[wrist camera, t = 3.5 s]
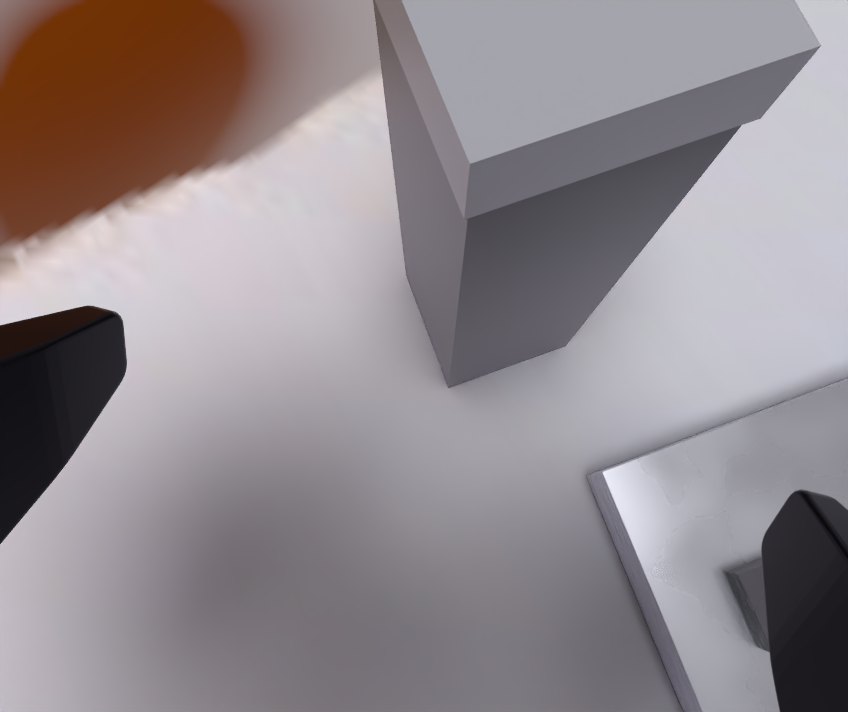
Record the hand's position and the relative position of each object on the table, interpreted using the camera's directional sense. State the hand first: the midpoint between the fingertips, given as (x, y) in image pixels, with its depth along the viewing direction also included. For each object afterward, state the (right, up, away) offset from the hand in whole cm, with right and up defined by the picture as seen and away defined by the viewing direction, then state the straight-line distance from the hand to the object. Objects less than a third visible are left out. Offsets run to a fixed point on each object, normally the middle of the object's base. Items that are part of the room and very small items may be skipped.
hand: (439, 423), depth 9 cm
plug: (+2, +2, +13) cm, 13 cm away
